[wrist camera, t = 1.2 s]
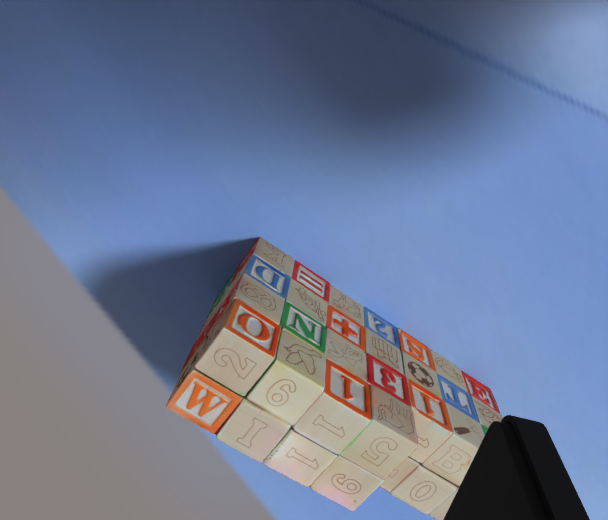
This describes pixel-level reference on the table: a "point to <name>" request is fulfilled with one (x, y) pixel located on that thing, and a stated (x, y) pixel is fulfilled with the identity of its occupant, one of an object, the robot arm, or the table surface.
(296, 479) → the stack of blocks
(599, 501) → the table surface
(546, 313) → the table surface
